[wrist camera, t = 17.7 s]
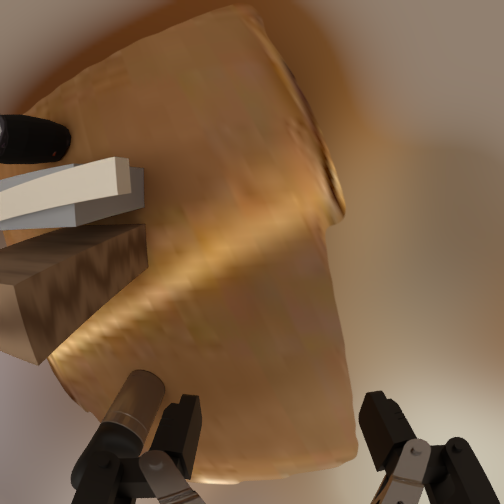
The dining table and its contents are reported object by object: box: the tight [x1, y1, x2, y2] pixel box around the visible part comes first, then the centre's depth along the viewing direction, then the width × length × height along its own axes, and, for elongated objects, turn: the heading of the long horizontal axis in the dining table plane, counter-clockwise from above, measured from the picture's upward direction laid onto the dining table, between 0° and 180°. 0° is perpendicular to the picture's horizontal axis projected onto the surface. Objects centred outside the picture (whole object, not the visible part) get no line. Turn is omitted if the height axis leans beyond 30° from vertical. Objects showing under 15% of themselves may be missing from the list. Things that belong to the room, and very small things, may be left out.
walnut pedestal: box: [0, 224, 148, 365], centre depth 33 cm, size 8×18×32 cm, turn 89°
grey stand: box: [0, 164, 144, 230], centre depth 36 cm, size 7×18×21 cm, turn 89°
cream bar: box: [0, 157, 131, 221], centre depth 24 cm, size 4×26×3 cm, turn 94°
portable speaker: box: [0, 115, 71, 164], centre depth 34 cm, size 9×9×20 cm
